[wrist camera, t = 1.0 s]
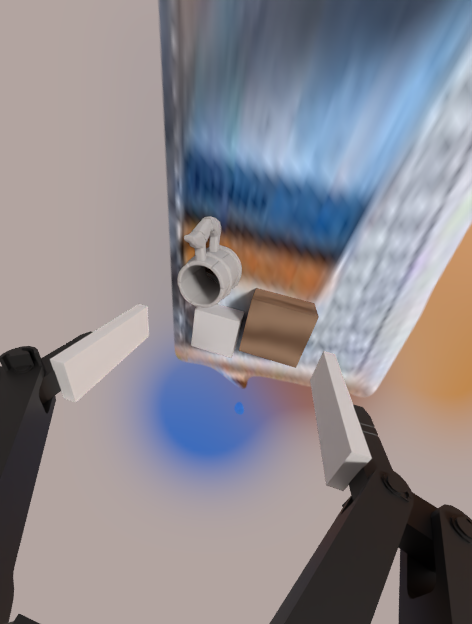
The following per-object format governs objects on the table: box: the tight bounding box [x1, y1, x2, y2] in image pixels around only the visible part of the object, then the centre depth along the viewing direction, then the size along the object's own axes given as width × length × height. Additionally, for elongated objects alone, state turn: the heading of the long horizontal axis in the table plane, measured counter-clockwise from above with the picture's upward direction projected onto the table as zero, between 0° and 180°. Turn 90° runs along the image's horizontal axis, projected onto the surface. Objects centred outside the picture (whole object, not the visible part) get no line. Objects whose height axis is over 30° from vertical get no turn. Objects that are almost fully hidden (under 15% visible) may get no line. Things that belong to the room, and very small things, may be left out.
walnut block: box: [239, 288, 318, 368], centre depth 34 cm, size 10×10×5 cm
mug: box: [177, 217, 242, 308], centre depth 28 cm, size 8×12×12 cm, turn 179°
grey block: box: [191, 304, 244, 358], centre depth 38 cm, size 8×8×4 cm
